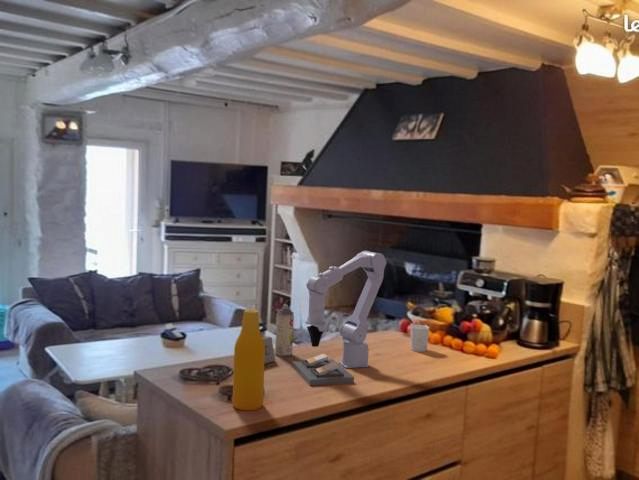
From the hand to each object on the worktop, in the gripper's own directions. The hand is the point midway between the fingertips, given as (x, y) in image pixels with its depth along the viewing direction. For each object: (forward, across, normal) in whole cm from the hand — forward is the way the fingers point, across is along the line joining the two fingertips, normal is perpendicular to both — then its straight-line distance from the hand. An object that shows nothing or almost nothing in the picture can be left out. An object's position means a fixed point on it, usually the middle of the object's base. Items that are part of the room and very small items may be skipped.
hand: (315, 346), depth 217 cm
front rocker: (+6, +11, +1) cm, 12 cm away
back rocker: (+6, 0, +2) cm, 6 cm away
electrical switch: (+9, -13, -16) cm, 23 cm away
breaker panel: (+9, +5, +1) cm, 10 cm away
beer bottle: (+9, +30, -31) cm, 44 cm away
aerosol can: (+9, -22, -5) cm, 24 cm away
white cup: (+10, -19, +54) cm, 58 cm away
